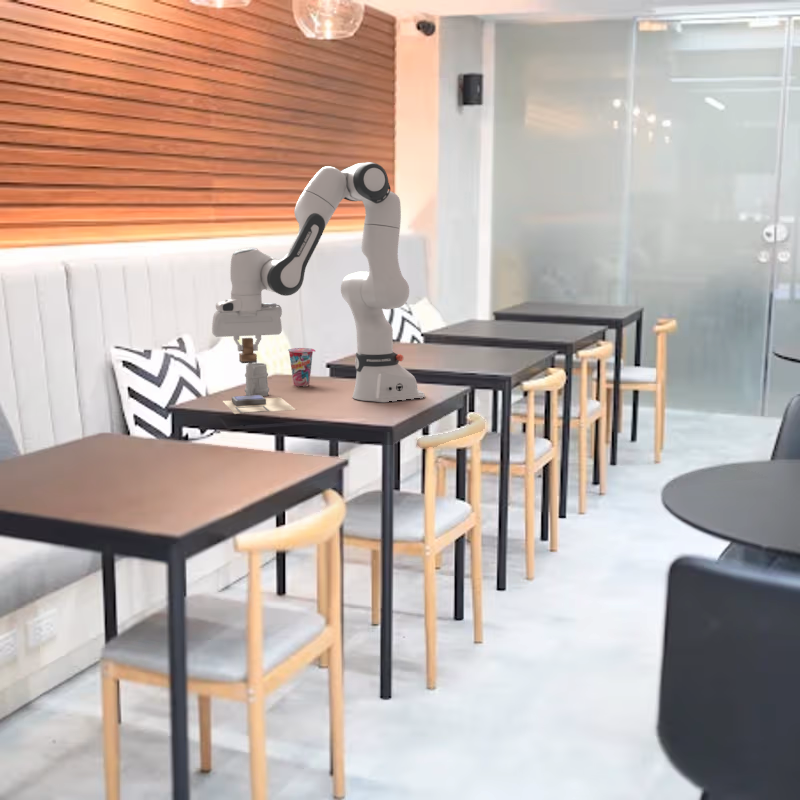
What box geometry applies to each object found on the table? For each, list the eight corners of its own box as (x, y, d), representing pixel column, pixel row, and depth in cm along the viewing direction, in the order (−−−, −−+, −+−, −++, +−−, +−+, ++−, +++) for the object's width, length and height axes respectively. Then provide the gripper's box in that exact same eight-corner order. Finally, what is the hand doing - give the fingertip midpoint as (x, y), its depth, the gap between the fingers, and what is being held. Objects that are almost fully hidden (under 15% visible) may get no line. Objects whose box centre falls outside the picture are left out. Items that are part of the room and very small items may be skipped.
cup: (287, 387, 366) (286, 351, 364) (290, 383, 374) (289, 347, 372) (315, 387, 366) (314, 351, 363) (318, 383, 374) (317, 347, 372)
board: (280, 400, 343) (280, 391, 342) (296, 413, 323) (295, 403, 323) (222, 404, 337) (222, 395, 337) (234, 417, 317) (234, 407, 317)
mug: (272, 393, 355) (271, 356, 353) (261, 400, 344) (260, 361, 342) (249, 392, 356) (248, 355, 354) (237, 399, 345) (236, 361, 343)
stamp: (254, 360, 331) (253, 337, 329) (256, 362, 327) (256, 339, 325) (239, 361, 329) (238, 337, 328) (241, 363, 325) (241, 339, 324)
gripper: (279, 301, 331) (280, 348, 333) (210, 304, 325) (211, 350, 327) (283, 303, 325) (284, 350, 328) (213, 306, 319) (214, 353, 322)
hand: (247, 350), depth 327 cm, fingers closed on stamp, 3 cm apart
